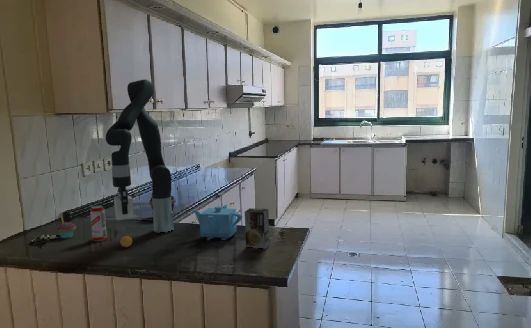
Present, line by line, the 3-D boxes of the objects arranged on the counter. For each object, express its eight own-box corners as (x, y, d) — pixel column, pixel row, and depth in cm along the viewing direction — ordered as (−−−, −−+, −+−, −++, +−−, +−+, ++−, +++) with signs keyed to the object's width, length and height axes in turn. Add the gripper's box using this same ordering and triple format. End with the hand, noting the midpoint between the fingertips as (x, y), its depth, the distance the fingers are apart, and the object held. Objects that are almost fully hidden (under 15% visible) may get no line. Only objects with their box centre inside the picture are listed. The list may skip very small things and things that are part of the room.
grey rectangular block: (131, 214, 180) (130, 195, 179) (133, 218, 174) (132, 198, 173) (115, 216, 177) (113, 197, 176) (116, 220, 171) (115, 200, 170)
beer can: (101, 242, 185) (99, 208, 183) (89, 241, 186) (86, 208, 184) (109, 238, 191) (107, 205, 189) (97, 237, 192) (95, 205, 190)
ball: (131, 234, 179) (119, 235, 177) (132, 236, 175) (120, 238, 173) (131, 244, 180) (119, 246, 178) (133, 247, 175) (121, 249, 173)
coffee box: (270, 244, 174) (269, 208, 172) (265, 249, 168) (264, 212, 166) (250, 243, 177) (249, 207, 175) (245, 247, 171) (244, 211, 169)
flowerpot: (144, 218, 228) (142, 184, 226) (165, 212, 240) (164, 180, 238) (160, 221, 219) (158, 186, 217) (182, 215, 231) (180, 182, 229)
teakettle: (245, 238, 185) (244, 207, 183) (209, 246, 175) (207, 213, 173) (226, 229, 200) (225, 200, 199) (191, 236, 190) (190, 206, 189)
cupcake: (57, 240, 189) (55, 216, 188) (57, 236, 197) (55, 212, 195) (77, 237, 193) (75, 213, 192) (76, 233, 201) (74, 210, 199)
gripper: (132, 176, 168) (135, 214, 170) (128, 172, 181) (130, 208, 183) (113, 178, 165) (116, 217, 167) (110, 174, 178) (113, 210, 180)
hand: (124, 212), depth 175 cm, fingers closed on grey rectangular block, 7 cm apart
